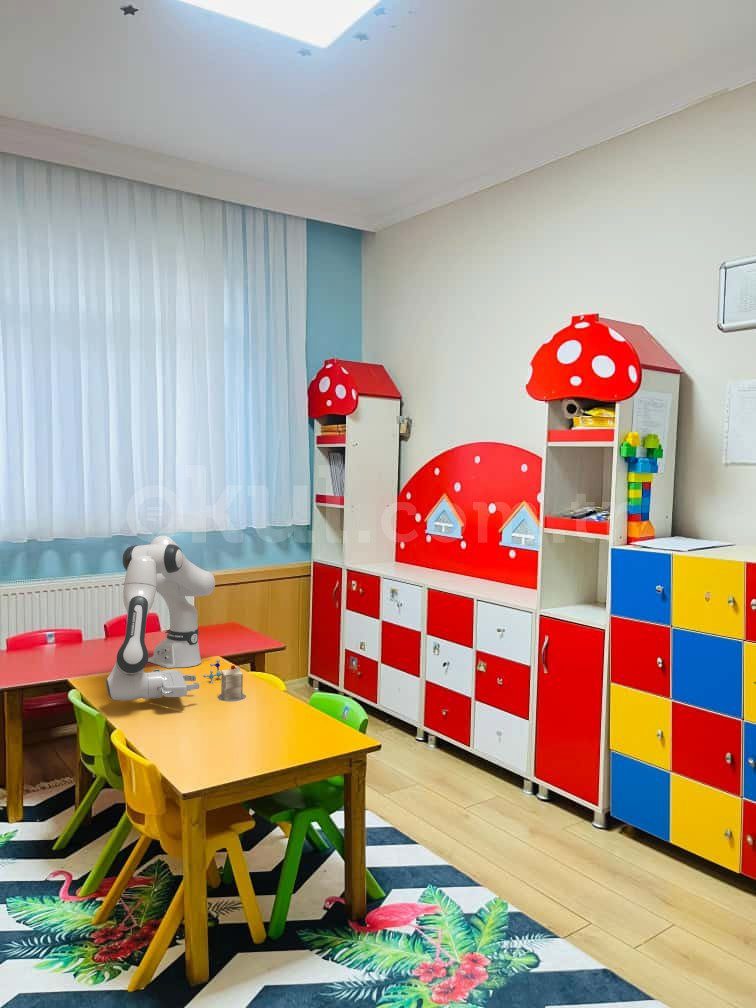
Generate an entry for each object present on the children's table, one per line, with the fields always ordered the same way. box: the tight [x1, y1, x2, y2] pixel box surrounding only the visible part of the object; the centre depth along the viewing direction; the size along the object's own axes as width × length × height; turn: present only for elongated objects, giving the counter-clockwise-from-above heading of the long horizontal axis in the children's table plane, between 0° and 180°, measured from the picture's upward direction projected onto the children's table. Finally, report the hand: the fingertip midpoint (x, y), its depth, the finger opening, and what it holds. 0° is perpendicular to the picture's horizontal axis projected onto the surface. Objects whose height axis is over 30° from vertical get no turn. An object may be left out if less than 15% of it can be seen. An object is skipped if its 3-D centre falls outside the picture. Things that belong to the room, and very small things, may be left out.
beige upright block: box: [220, 668, 244, 700], centre depth 278 cm, size 6×6×9 cm
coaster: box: [217, 693, 247, 703], centre depth 278 cm, size 10×10×1 cm
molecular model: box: [202, 658, 241, 685], centre depth 297 cm, size 12×10×10 cm
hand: (197, 681), depth 274 cm, fingers open, 8 cm apart
